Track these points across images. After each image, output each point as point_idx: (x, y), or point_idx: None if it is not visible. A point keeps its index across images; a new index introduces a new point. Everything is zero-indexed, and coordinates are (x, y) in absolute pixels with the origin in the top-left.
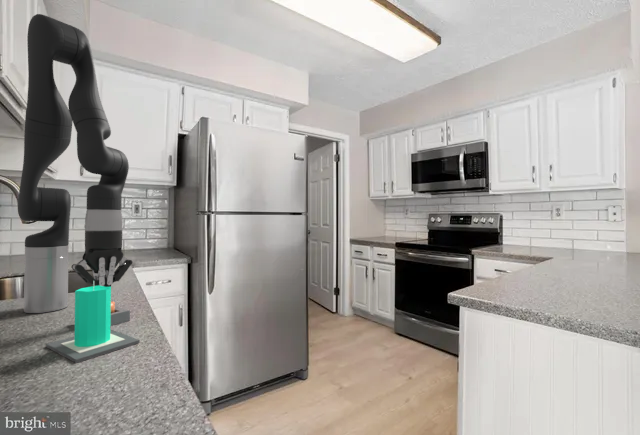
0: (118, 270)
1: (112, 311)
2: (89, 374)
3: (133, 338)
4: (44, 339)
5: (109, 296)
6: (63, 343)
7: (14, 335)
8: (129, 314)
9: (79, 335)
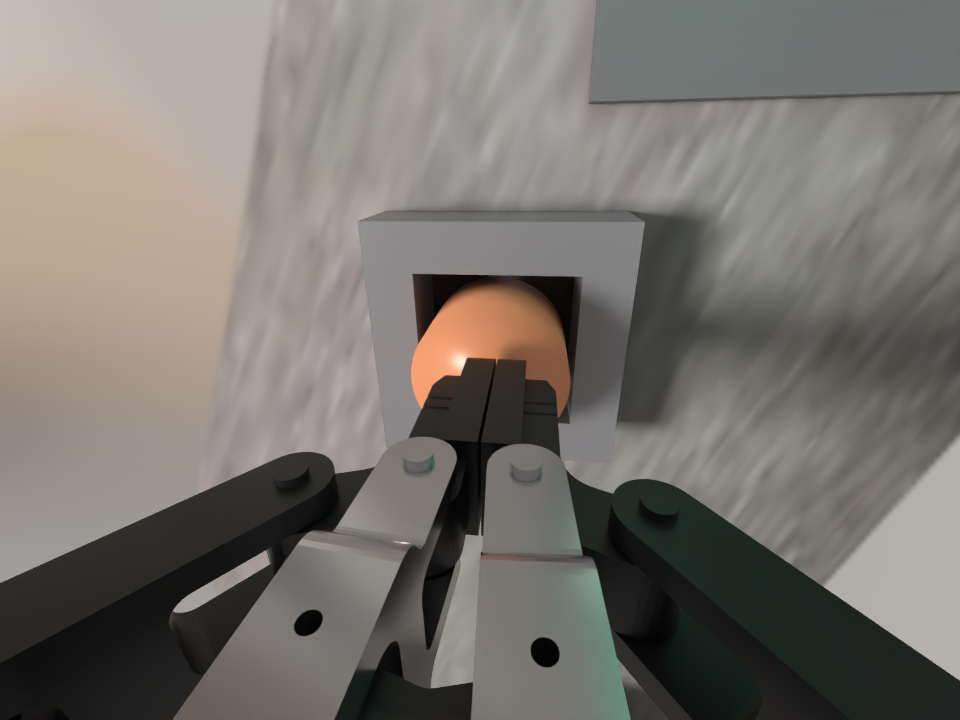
0: (176, 643)
1: (462, 293)
2: None
3: None
4: (880, 280)
5: None
6: None
7: (874, 483)
8: (371, 216)
9: None
